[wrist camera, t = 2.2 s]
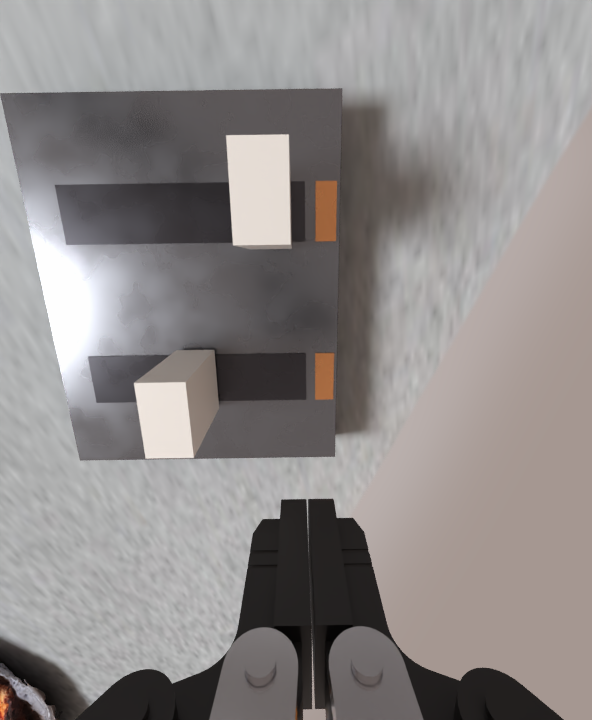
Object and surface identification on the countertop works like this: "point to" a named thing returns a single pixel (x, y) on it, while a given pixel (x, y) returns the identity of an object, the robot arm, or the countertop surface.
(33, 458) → the countertop surface
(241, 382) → the breaker panel
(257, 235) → the on handle
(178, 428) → the handle
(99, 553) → the countertop surface
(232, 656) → the robot arm
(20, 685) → the food plate
